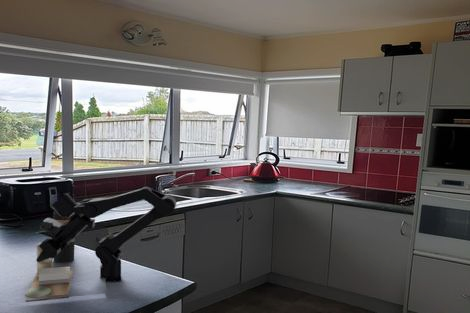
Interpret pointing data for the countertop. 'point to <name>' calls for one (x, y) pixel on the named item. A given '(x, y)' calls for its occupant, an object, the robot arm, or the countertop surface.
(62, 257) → the travel mug
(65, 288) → the wooden board
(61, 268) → the slab
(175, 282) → the countertop surface
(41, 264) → the roller
